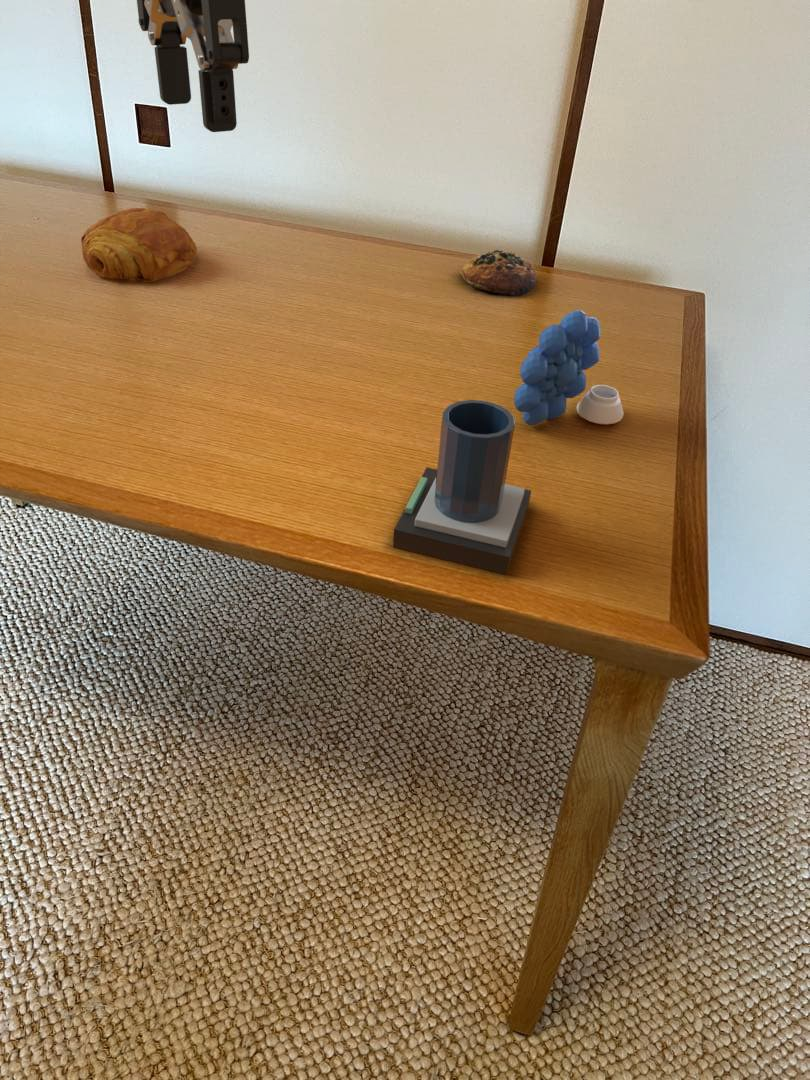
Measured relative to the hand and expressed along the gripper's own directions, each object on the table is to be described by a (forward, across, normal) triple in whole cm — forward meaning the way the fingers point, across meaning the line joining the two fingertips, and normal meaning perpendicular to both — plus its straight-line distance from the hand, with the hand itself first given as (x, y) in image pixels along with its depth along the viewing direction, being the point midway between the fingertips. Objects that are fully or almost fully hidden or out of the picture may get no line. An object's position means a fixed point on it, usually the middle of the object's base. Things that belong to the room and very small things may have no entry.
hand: (197, 116), depth 60 cm
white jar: (+30, +11, +39) cm, 50 cm away
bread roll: (+30, -24, +52) cm, 65 cm away
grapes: (+30, +8, +33) cm, 46 cm away
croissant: (+30, -50, +9) cm, 59 cm away
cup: (+27, +20, +14) cm, 36 cm away
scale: (+30, +20, +14) cm, 39 cm away
